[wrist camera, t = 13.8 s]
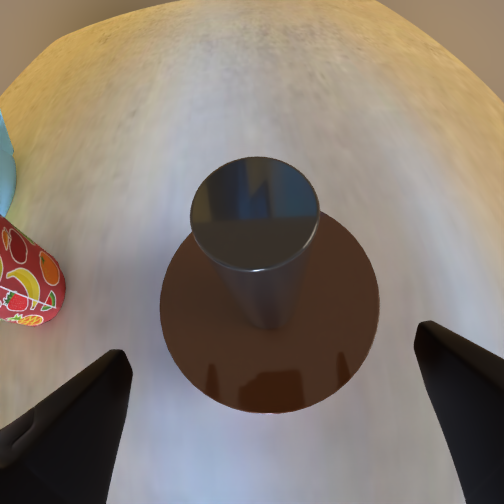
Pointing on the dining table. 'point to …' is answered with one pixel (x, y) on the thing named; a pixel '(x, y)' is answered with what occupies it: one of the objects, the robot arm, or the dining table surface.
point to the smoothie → (27, 279)
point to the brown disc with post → (267, 292)
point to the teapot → (6, 169)
